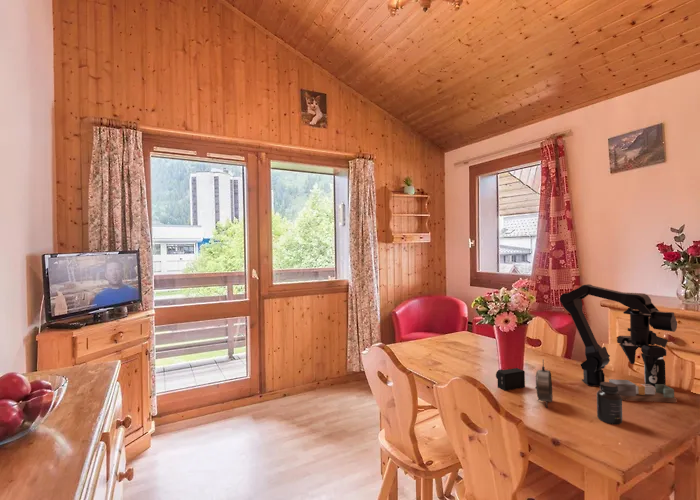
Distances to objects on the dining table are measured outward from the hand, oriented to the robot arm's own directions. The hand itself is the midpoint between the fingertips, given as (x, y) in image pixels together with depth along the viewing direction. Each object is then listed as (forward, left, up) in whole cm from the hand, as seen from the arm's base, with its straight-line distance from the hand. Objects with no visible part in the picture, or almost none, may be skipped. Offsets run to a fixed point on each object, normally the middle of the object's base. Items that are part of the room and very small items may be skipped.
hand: (640, 367), depth 135 cm
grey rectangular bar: (-3, -1, -9) cm, 10 cm away
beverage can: (+12, +13, -11) cm, 21 cm away
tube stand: (-1, -1, -11) cm, 11 cm away
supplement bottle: (-22, -21, -11) cm, 33 cm away
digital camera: (-46, +5, -11) cm, 47 cm away
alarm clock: (-38, -9, -11) cm, 40 cm away
